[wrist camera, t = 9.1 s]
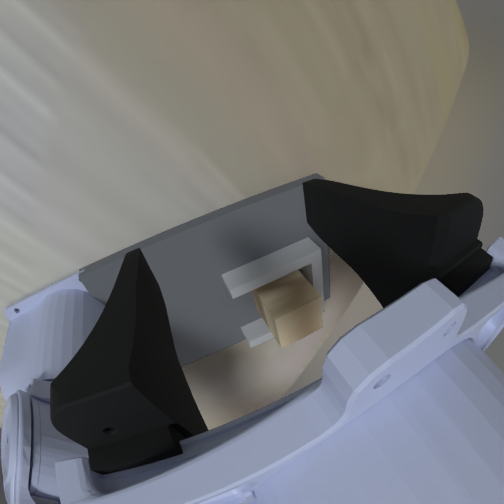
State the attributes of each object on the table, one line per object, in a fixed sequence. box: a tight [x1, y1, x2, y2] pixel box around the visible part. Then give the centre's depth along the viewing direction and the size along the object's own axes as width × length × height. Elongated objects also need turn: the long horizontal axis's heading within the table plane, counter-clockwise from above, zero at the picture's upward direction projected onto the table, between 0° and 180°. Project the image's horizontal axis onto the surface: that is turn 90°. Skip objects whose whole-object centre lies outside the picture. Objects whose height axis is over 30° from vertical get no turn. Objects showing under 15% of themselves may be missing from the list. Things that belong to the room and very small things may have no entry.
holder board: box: [79, 173, 330, 366], centre depth 25 cm, size 20×14×3 cm
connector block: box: [252, 270, 323, 348], centre depth 25 cm, size 4×4×5 cm
